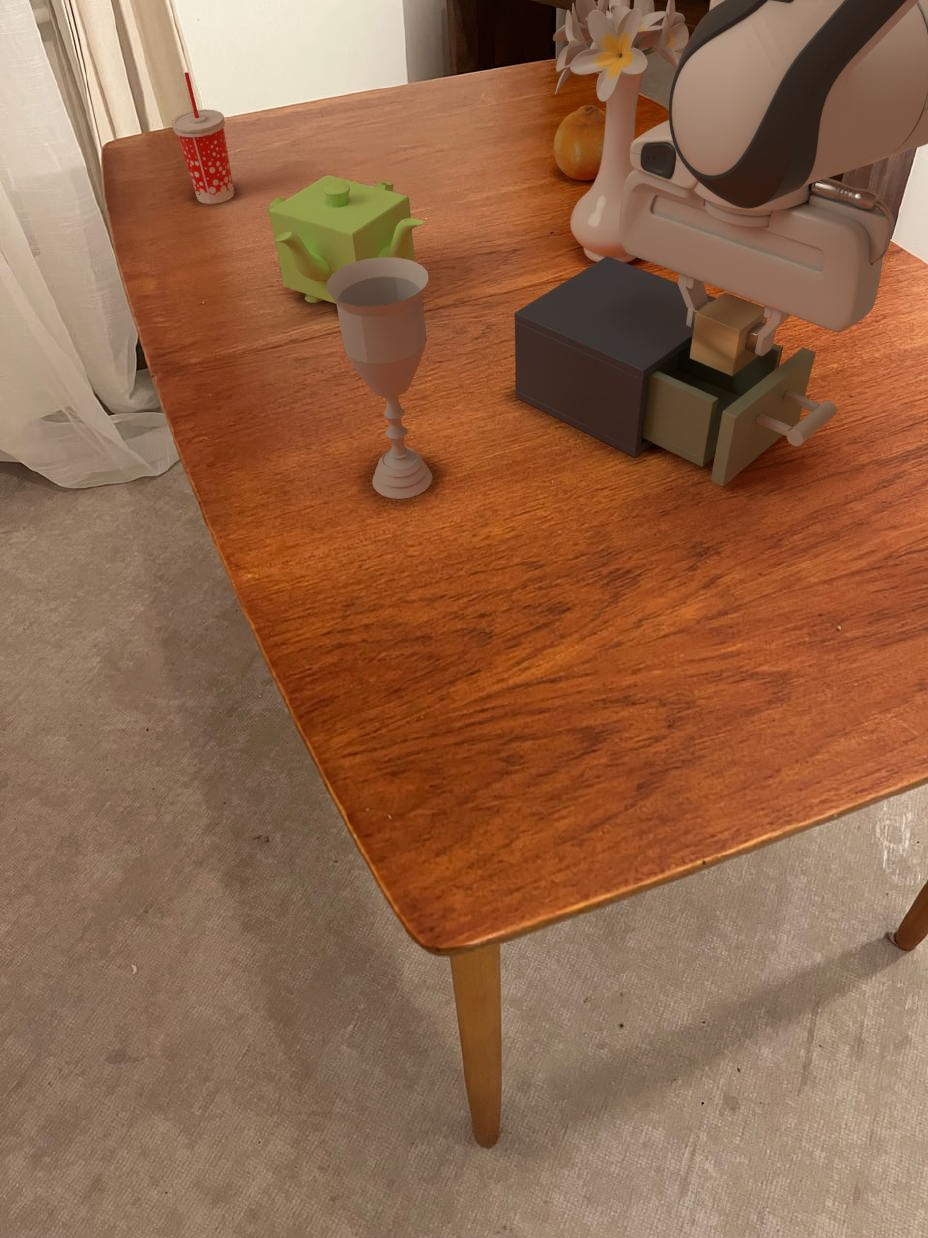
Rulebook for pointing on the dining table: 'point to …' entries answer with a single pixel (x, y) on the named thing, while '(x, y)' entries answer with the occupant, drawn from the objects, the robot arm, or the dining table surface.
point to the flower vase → (614, 99)
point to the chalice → (386, 352)
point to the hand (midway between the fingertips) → (728, 338)
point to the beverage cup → (205, 151)
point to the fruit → (580, 143)
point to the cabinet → (600, 349)
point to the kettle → (338, 231)
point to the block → (725, 333)
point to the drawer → (731, 409)
